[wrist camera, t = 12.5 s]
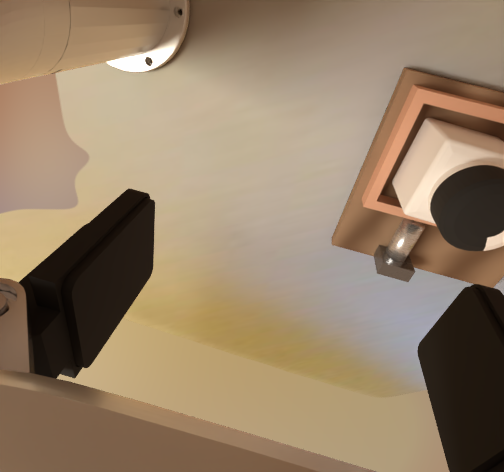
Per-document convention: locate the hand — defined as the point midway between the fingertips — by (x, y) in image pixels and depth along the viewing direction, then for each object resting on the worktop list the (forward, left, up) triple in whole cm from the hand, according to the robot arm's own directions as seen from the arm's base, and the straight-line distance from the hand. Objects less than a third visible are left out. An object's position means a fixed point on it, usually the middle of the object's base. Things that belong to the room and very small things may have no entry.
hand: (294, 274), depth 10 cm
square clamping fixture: (+17, -6, -28) cm, 34 cm away
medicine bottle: (+14, -3, -27) cm, 30 cm away
